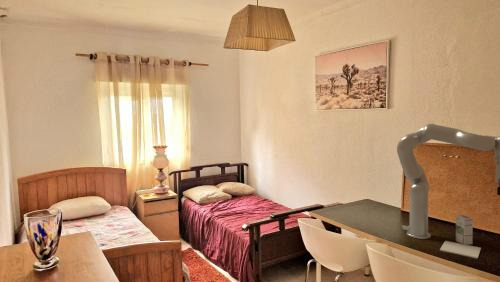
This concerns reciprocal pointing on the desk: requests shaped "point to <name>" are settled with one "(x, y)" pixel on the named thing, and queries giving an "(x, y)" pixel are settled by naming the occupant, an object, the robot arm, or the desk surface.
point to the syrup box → (464, 229)
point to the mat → (461, 249)
